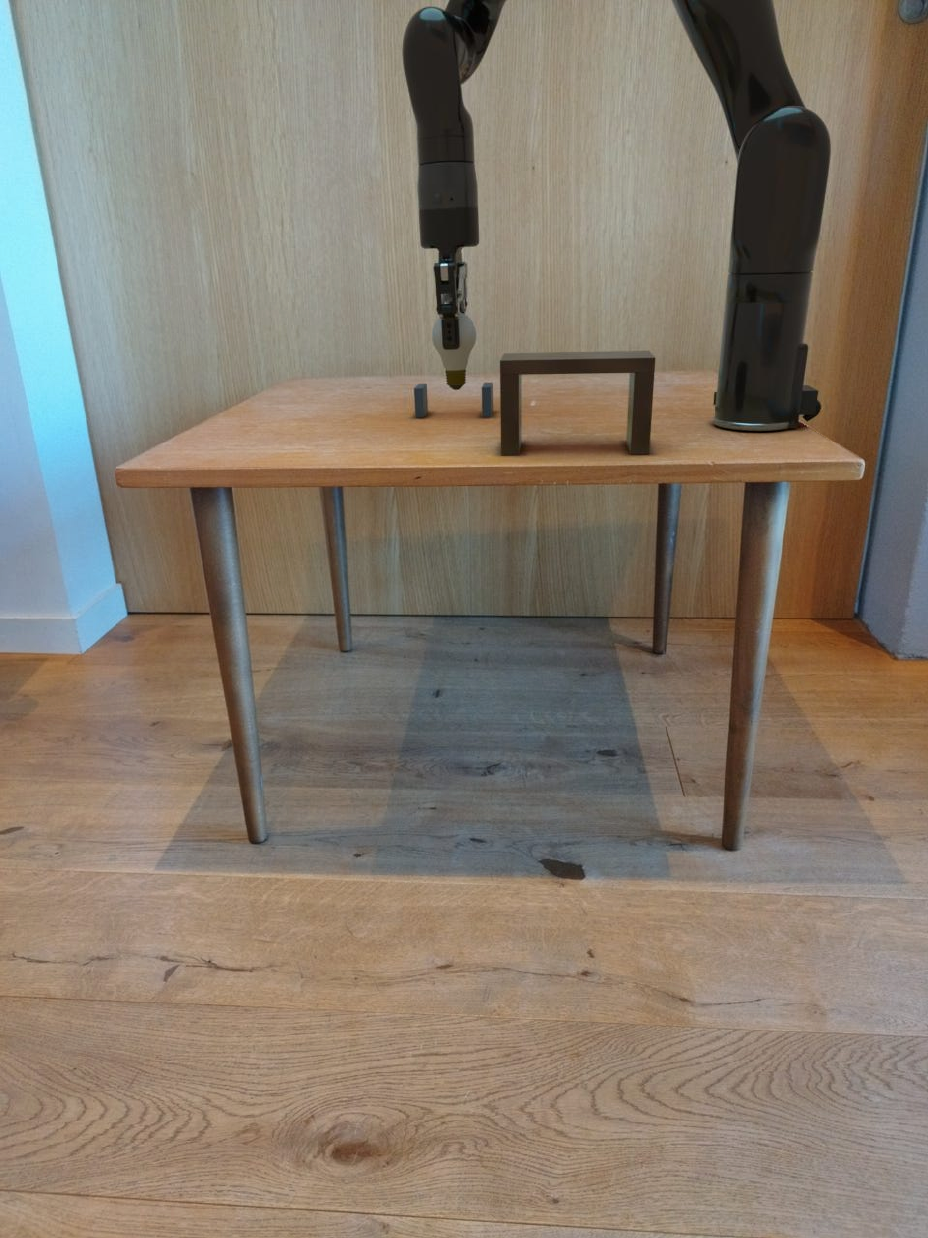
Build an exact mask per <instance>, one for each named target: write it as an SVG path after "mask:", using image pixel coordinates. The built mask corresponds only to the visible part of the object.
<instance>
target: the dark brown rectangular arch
mask: <svg viewBox="0 0 928 1238" xmlns="http://www.w3.org/2000/svg"><path fill="white" fill-rule="evenodd" d="M655 370H656V357H655V355H653V353H652V352H651V351H650V350H621V351H618V350H617V351H616V350H615V351H614V350H613V351H612V350H611V351H563V352H562V351H561V352H555V351H554V352H511V353H508V352H507V353H505V352H504V353H503V354H502V355H501V358H500V359H499V405H500V408H499V409H500V412H499V413H500V415H499V416H500V418H499V419H500V455H501V456H519V455H520V453H521V452H520V451H521V447H522V440H523V439H522V429H523V428H522V415H523V413H522V405H523V403H522V394H523V393H522V391H523V390H522V387H523V385H522V379H523V378H522V375H523V376H524V375H525V376H526V375H533V376H534V375H586V374H587V375H589V374H590V375H592V374H595V375H596V374H597V375H599V374H629V380H628V399H627V400H628V401H627V420H626V437H625V439H626V440H625V441H626V445H627V448H628V451H629V454H630V455H650V449H651V433H652V416H653V404H654V403H653V402H654V388H655V387H654V386H655V372H656V371H655Z"/></svg>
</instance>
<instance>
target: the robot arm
mask: <svg viewBox="0 0 928 1238" xmlns="http://www.w3.org/2000/svg"><path fill="white" fill-rule="evenodd" d="M507 1H508V0H448V2H447V4H446V6H445V8H444V9H443V8H441V7H438V6H433V5H432V6H425V7H422V8H420V9H418V10H417V11H416V12H415V13H414V14H413V15H412V16H411V17H410V18H409V20H408V22H407V24H406V27H405V29H404V34H403V40H402V49H401V51H402V52H401V53H402V65H403V72H404V78H405V83H406V87H407V92H408V98H409V102H410V107H411V110H412V114H413V117H414V121H415V122H414V123H415V127H416V128H415V129H416V153H417V166H418V167H417V181H416V182H417V183H416V184H417V185H416V186H417V190H416V191H417V208H418V225H419V226H418V227H419V241H420V242H419V243H420V244H419V245H420V247H421V248H422V249H424V250H432V249H433V250H434V249H436V250H437V251H438V260H437V261H438V262H435V263H434V265H433V277H434V283H435V297H436V309H435V310H436V312H437V315H438V317H440V319H442V320H441V325H442V345H443V348H444V349H445V350H456V349H458V348H459V347H460V333H459V319H456V318H459V315H460V313H463V314H465V315H466V312H467V308H468V307H467V306H468V299H467V298H468V293H469V291H468V275H469V269H468V268H469V267H468V263H467V262H466V261H463V254H462V250H463V249H464V248H472V247H477V246H478V245H479V244H480V221H479V220H480V217H479V191H478V190H479V189H478V188H479V187H478V179H477V173H476V172H477V171H476V159H475V158H476V157H475V155H476V154H475V130H474V122H473V118H472V115H471V113H470V112H469V111H468V109H467V108H466V106H465V103H464V99H463V91H462V85H464V84H466V82H468V81H469V80H470V79H471V77H472V76H474V74H475V73H476V71H477V70H478V68H479V66H480V65H481V63H482V61H483V59H484V57H485V54H486V53H487V51H488V48H489V46H490V43H491V41H492V38H493V36H494V33H495V31H496V28H497V26H498V23H499V21H500V17H501V15H502V11H503V8H504V6H505V4H506V2H507ZM671 3H672V5H673V8H674V10H675V13H676V14H677V17H678V19H679V21H680V23H681V25H682V28H683V30H684V32H685V34H686V36H687V38H688V41H689V43H690V44H691V47H692V49H693V51H694V52H695V54H696V57H697V59H698V61H699V62H700V64H701V66H702V68H703V70H704V71H705V73H706V75H707V77H708V79H709V80H710V83H711V85H712V87H713V89H714V90H715V93H716V95H717V98H718V100H719V103H720V105H721V108H722V111H723V114H724V117H725V121H726V125H727V128H728V131H729V135H730V139H731V143H732V147H733V150H734V154H735V158H736V163H737V164H736V165H737V166H736V175H735V184H734V185H735V186H734V198H733V208H732V209H733V210H732V218H731V219H732V221H731V229H730V239H729V255H728V268H727V273H728V274H727V279H726V280H727V281H726V290H725V302H724V312H723V322H722V332H721V333H722V335H721V342H720V351H719V352H720V354H719V363H718V374H717V384H716V391H714V393H713V401H712V403H713V404H712V406H714V415H713V417H712V424H713V425H715V426H717V427H720V428H723V429H728V430H735V431H745V432H770V431H774V432H775V431H782V430H787V429H799V428H798V427H799V421H800V416H802V418H803V419H804V421H805V422H807V423H808V422H809V421H811V420H813V419H814V418H816V417H817V416H818V415H819V414H820V412H821V410H822V403H821V402H820V401H819V400H818V396H819V390H818V389H817V388H814V387H813V386H810V385H809V384H805V375H806V371H807V370H806V369H807V363H808V362H807V361H808V354H809V345H808V344H807V343H805V335H806V328H807V322H808V321H807V320H808V314H809V305H810V298H811V291H812V282H813V275H814V272H813V271H814V270H815V261H816V256H817V252H818V251H817V250H818V246H819V242H820V237H821V229H822V221H823V216H824V215H823V214H824V209H825V201H826V194H827V187H828V181H829V173H830V165H831V158H832V157H831V155H832V142H831V141H832V140H831V134H830V131H829V129H828V127H827V125H826V123H825V121H823V119H822V118H821V116H819V114H818V113H816V112H814V111H813V110H811V109H809V108H808V107H806V105H805V103H804V101H803V98H802V97H801V95H800V92H799V90H798V87H797V85H796V83H795V81H794V78H793V76H792V74H791V72H790V69H789V67H788V63H787V61H786V58H785V55H784V54H785V53H784V51H783V47H782V43H781V38H780V31H779V27H778V21H777V14H776V9H775V3H774V0H671Z"/></svg>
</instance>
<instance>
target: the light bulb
mask: <svg viewBox="0 0 928 1238" xmlns="http://www.w3.org/2000/svg"><path fill="white" fill-rule="evenodd" d="M456 319H459V333H460V347H459V348H458V349H456V350H445V349H444V348H443V345H442V325H441V320H442V319H440V316H438V318H437V319H436V320H435V322H434V324H433V326H432V330H431V340H432V345H433V346H434V348H435V350H436V351H437V353H438V354H439V357H440V358H441V361H442V365H443V368H444V370H445V371H444V373H445V377H446V378H445V379H446V385H447V386H448V387H450V388H451V389H452V390H454V391H458V390H460V389H461V388H463V386H464V385H465V384H466V383H467V380H466V379H467V378H466V375H467V374H466V373H467V370H466V369H467V366H468V363H469V359H470V358H469V357H470V355H471V353H472V351H473V349H474V347H475V344H476V341H477V330H476V326H475V324H474V322H473V320H472V319H471V318H470V317H469V316H468V315H466V313H465V314H463V313H460V315H459V318H456Z"/></svg>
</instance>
